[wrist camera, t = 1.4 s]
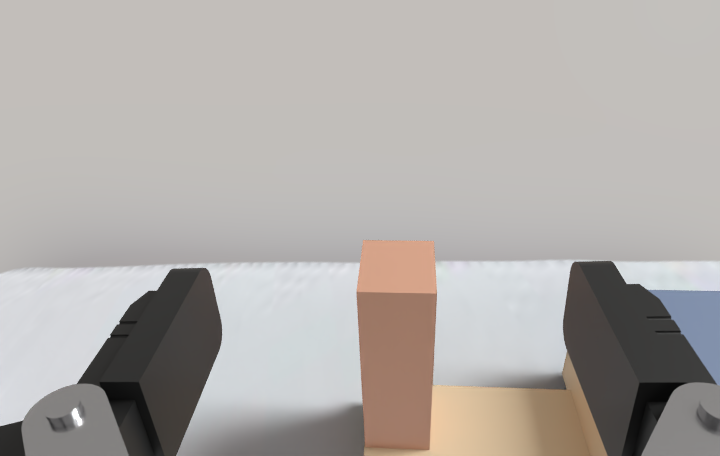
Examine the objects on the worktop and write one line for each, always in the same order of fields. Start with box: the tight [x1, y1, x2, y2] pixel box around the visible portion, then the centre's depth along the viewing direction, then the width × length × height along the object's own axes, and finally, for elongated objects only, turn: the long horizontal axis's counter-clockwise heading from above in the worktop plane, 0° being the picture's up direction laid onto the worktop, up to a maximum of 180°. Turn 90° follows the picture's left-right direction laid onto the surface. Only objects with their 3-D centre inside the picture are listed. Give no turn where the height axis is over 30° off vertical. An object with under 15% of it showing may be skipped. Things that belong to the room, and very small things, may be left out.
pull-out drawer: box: [357, 240, 607, 456], centre depth 28 cm, size 23×9×12 cm, turn 86°
